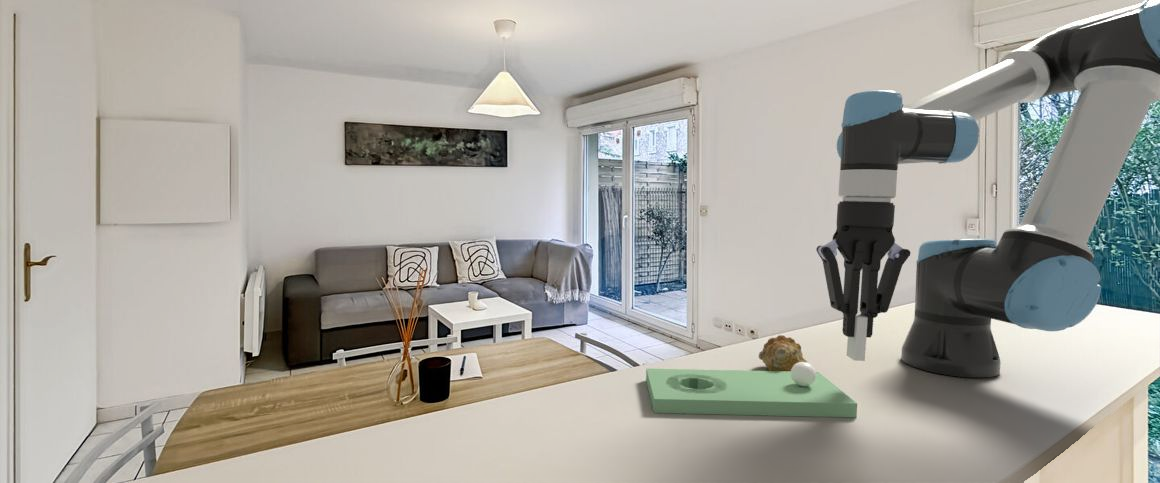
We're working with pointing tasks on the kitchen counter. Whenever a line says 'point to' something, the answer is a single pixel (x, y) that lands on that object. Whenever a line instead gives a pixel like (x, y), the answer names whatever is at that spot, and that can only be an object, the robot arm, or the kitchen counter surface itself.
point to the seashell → (781, 353)
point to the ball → (803, 374)
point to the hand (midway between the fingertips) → (855, 357)
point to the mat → (745, 393)
